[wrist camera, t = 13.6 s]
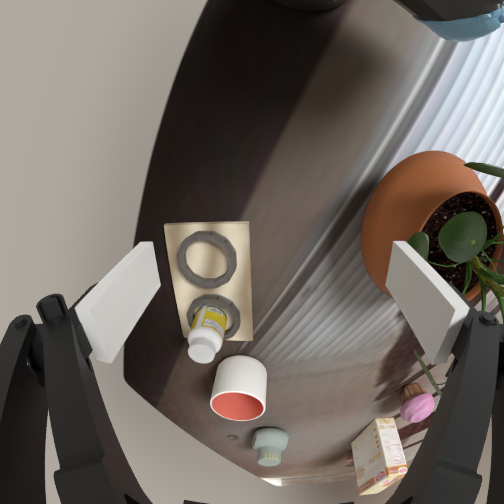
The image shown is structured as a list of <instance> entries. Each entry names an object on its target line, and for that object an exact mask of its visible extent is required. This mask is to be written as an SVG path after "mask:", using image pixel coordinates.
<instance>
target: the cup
mask: <svg viewBox="0 0 504 504" xmlns="http://www.w3.org/2000/svg"><path fill="white" fill-rule="evenodd" d="M266 380H267V373H266V369H265V367H264V366H263V364H262V363H261V362H259V361H258V360H256V359H254V358H252V357H249V356H243V355H236V356H231V357H228V358H226V359H224V360H223V361H222V362H221V363H220V364H219V366H218V368H217V373H216V377H215V382H214V386H213V391H212V396H211V400H210V405H211V408H212V409H213V410H214V412H216V413H217V414H218V415H220V416H222V417H224V418H227V419H231V420H236V421H247V420H252V419H255V418H258V417H259V416H261V415H262V414H263V413H264V411H265V405H266Z"/></svg>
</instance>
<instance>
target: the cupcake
mask: <svg viewBox="0 0 504 504" xmlns="http://www.w3.org/2000/svg"><path fill="white" fill-rule="evenodd" d="M401 402H402V407H401V410H400V413H401V417H402V418H403V419H404V420H406V421H408V422H413V423H414V422H419V421H421V420H423V419H424V418H426V417H428V416H429V415H430V414H431V412H432V411H433V409H434V399H433V397H432V395H431V394H430V393H427V392H426V391H425V390H424V389H423V388H422V387H421V386H420V385H419V384H417V383H415V384H409V385H406V386H405V387H404V389H403V392H402V394H401Z"/></svg>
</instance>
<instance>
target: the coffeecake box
mask: <svg viewBox="0 0 504 504" xmlns="http://www.w3.org/2000/svg"><path fill="white" fill-rule="evenodd" d="M351 446H352V452H353V458H354V464H355V470H356V477H357V484H358V491H359V495H366V494H375V493H379V492H380V491H382V490H384V489H385V488H387V487H388V486H390V485H391V484H393V483H395V482H396V481H398V480H399V479H401V478H402V477H404V476H405V474H406V472H407V471H408V468H407V464H406V460H405V456H404V453H403V449H402V445H401V442H400V438H399V435H398V432H397V428H396V425H395V422H394V418H375V419H374V420H373V421H372V422H371V424H370V425H369V426H368V427H367V428H366V429H365V430H364V431H363V432H362V433H361V434H360V435H359V436H358V437H357V438H356V439H355V440H354V441H353V442H352V443H351Z"/></svg>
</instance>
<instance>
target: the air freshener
mask: <svg viewBox="0 0 504 504" xmlns="http://www.w3.org/2000/svg"><path fill="white" fill-rule="evenodd" d="M287 443H288V434H287V433H286V432H285V431H283V430H281V429H277V428H262V429H259V430H257V431H256V432H255V434H254V437H253V441H252V448H253V449H254V450H255V451H257V452H258V456H257V462H258V463H259V464H260V465H262V466H276V465H278V464H279V463H280V462H281V452H282V451H284V450H285V448H286V446H287Z"/></svg>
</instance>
